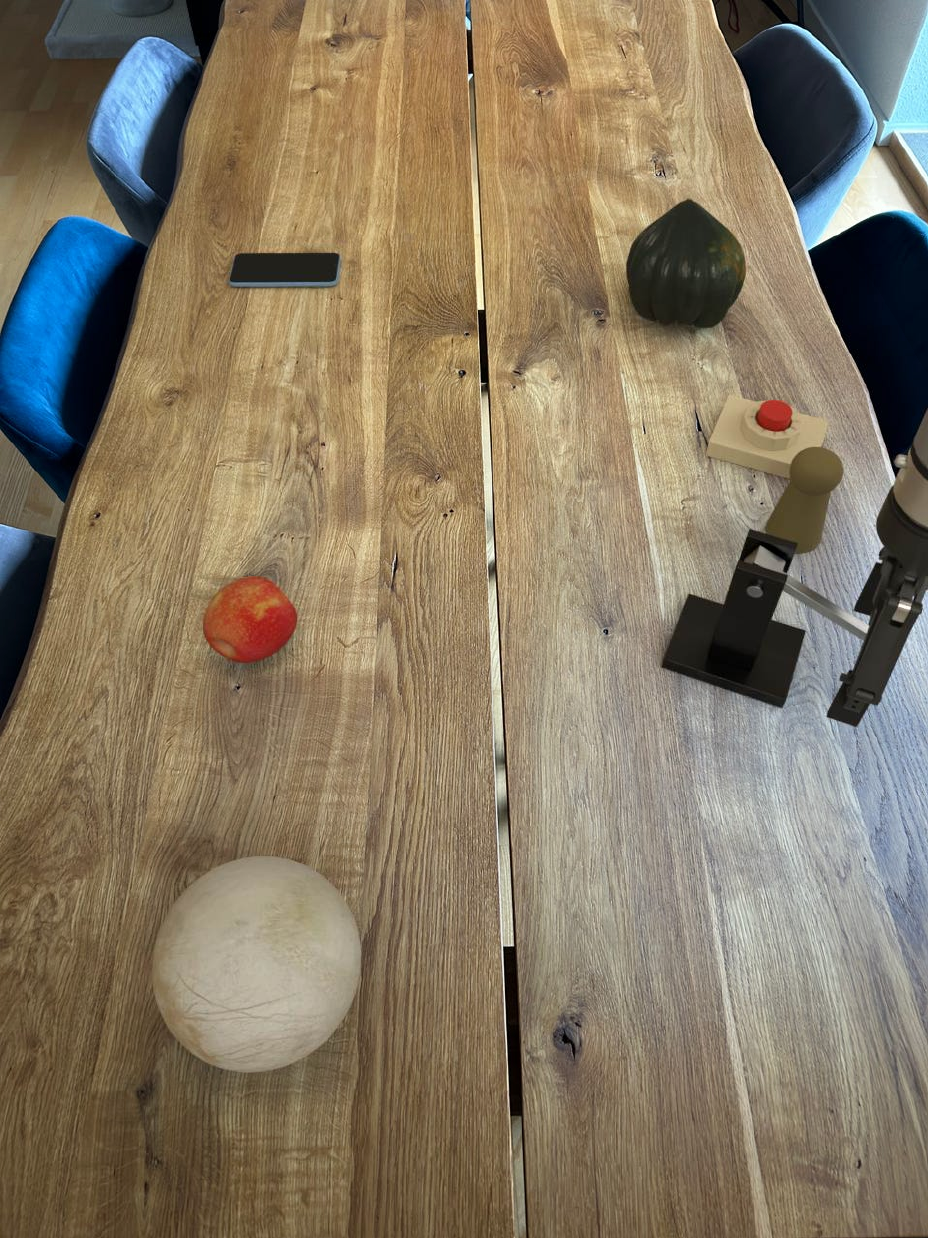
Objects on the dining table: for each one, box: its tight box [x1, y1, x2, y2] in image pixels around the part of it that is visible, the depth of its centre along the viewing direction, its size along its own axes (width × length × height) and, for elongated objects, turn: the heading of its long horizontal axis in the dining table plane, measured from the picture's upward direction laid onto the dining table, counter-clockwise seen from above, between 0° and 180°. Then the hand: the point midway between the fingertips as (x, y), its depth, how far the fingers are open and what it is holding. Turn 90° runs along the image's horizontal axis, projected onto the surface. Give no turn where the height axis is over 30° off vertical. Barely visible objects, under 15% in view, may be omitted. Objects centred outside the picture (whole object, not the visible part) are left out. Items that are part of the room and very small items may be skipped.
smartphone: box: [227, 252, 342, 288], centre depth 140 cm, size 7×1×15 cm
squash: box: [625, 197, 747, 329], centre depth 130 cm, size 14×15×15 cm
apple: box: [202, 575, 298, 664], centre depth 98 cm, size 8×8×8 cm
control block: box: [705, 394, 830, 480], centre depth 117 cm, size 12×9×4 cm
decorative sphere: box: [151, 855, 363, 1073], centre depth 74 cm, size 15×15×15 cm
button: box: [757, 399, 792, 432], centre depth 115 cm, size 4×4×2 cm
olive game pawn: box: [764, 446, 844, 554], centre depth 106 cm, size 6×6×11 cm
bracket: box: [660, 528, 807, 709], centre depth 95 cm, size 12×9×15 cm
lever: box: [744, 546, 876, 642], centre depth 91 cm, size 14×6×2 cm, turn 66°
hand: (855, 663), depth 94 cm, fingers open, 12 cm apart
